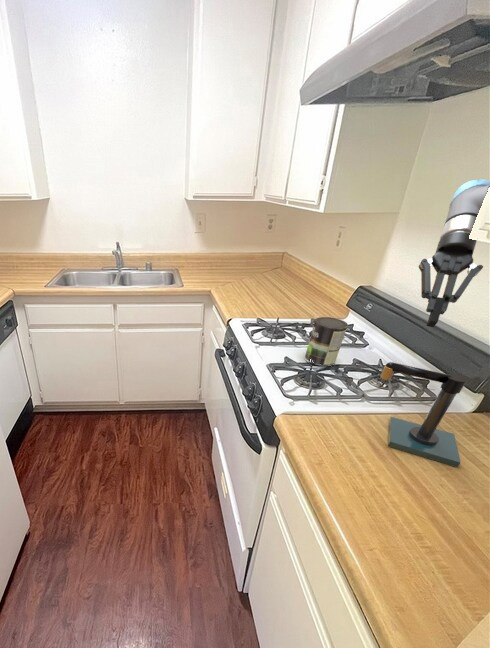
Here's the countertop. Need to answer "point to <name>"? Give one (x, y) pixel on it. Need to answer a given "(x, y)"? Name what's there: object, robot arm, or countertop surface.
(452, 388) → the spout
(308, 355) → the coffee can
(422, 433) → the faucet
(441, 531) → the countertop surface
